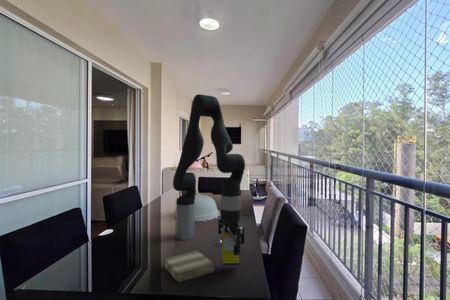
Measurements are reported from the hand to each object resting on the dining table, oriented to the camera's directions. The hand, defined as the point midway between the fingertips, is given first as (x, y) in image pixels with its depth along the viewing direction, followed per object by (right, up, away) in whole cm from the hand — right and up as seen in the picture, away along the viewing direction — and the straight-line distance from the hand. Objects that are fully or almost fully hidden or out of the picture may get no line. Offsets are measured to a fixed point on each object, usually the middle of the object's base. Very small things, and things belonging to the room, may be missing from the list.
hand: (230, 250), depth 93 cm
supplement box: (0, -4, 0) cm, 4 cm away
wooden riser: (-16, -7, 0) cm, 17 cm away
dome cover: (-21, -8, +78) cm, 81 cm away
